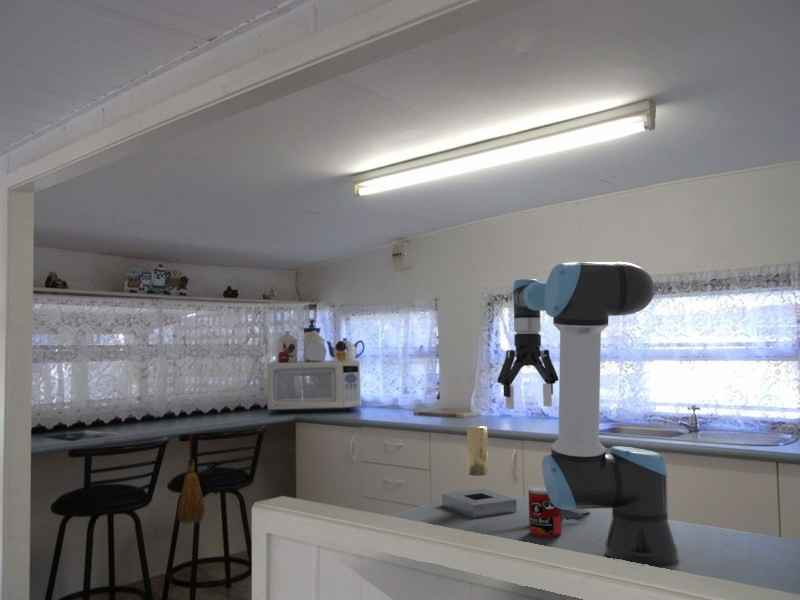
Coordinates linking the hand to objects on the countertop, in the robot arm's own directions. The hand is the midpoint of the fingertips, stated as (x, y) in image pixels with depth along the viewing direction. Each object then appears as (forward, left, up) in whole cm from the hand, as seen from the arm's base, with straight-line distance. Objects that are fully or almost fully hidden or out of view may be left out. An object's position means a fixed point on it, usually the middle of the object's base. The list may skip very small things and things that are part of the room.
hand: (529, 407), depth 194 cm
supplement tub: (-7, -9, -29) cm, 31 cm away
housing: (+4, +15, -29) cm, 33 cm away
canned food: (-21, +12, -29) cm, 38 cm away
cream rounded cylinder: (+4, +15, -18) cm, 24 cm away
